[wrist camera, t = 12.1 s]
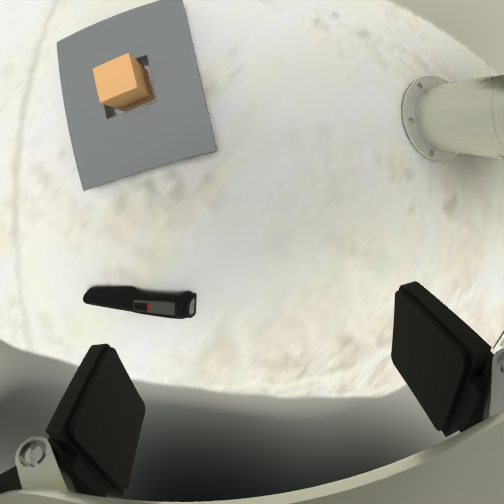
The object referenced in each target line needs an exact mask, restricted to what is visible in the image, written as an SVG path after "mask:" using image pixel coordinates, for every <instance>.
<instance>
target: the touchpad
mask: <svg viewBox="0 0 504 504" xmlns="http://www.w3.org/2000/svg"><path fill="white" fill-rule="evenodd" d="M502 348H504V334H503V336H502V337H501V339H500V340H499V342H498V343H497V345H496V346H495V348H494V350H496V351H498V350H500V349H502Z"/></svg>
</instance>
